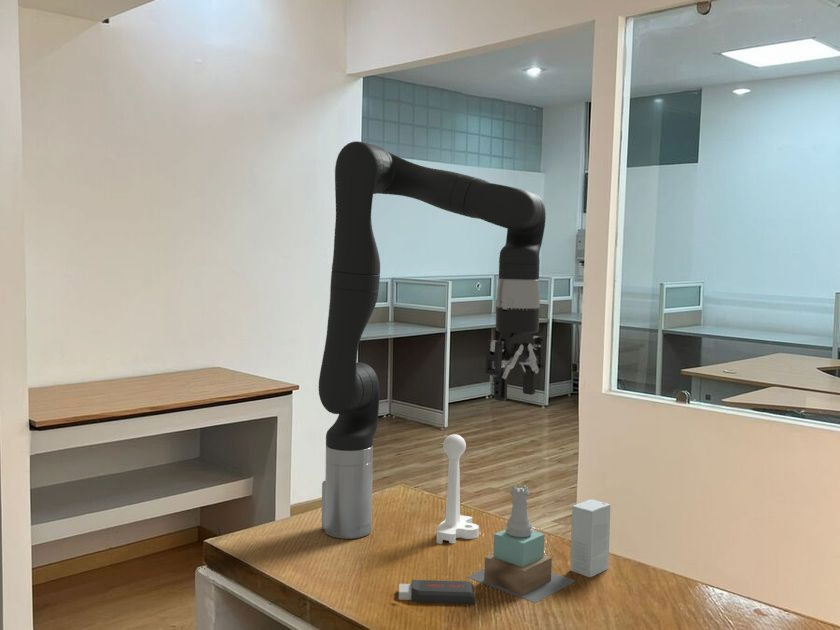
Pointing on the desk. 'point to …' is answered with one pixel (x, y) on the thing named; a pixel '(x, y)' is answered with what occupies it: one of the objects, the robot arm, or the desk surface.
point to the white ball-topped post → (455, 497)
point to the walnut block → (518, 574)
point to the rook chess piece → (519, 514)
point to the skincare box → (590, 537)
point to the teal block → (518, 548)
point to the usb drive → (438, 592)
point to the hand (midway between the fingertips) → (514, 396)
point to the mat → (534, 595)
